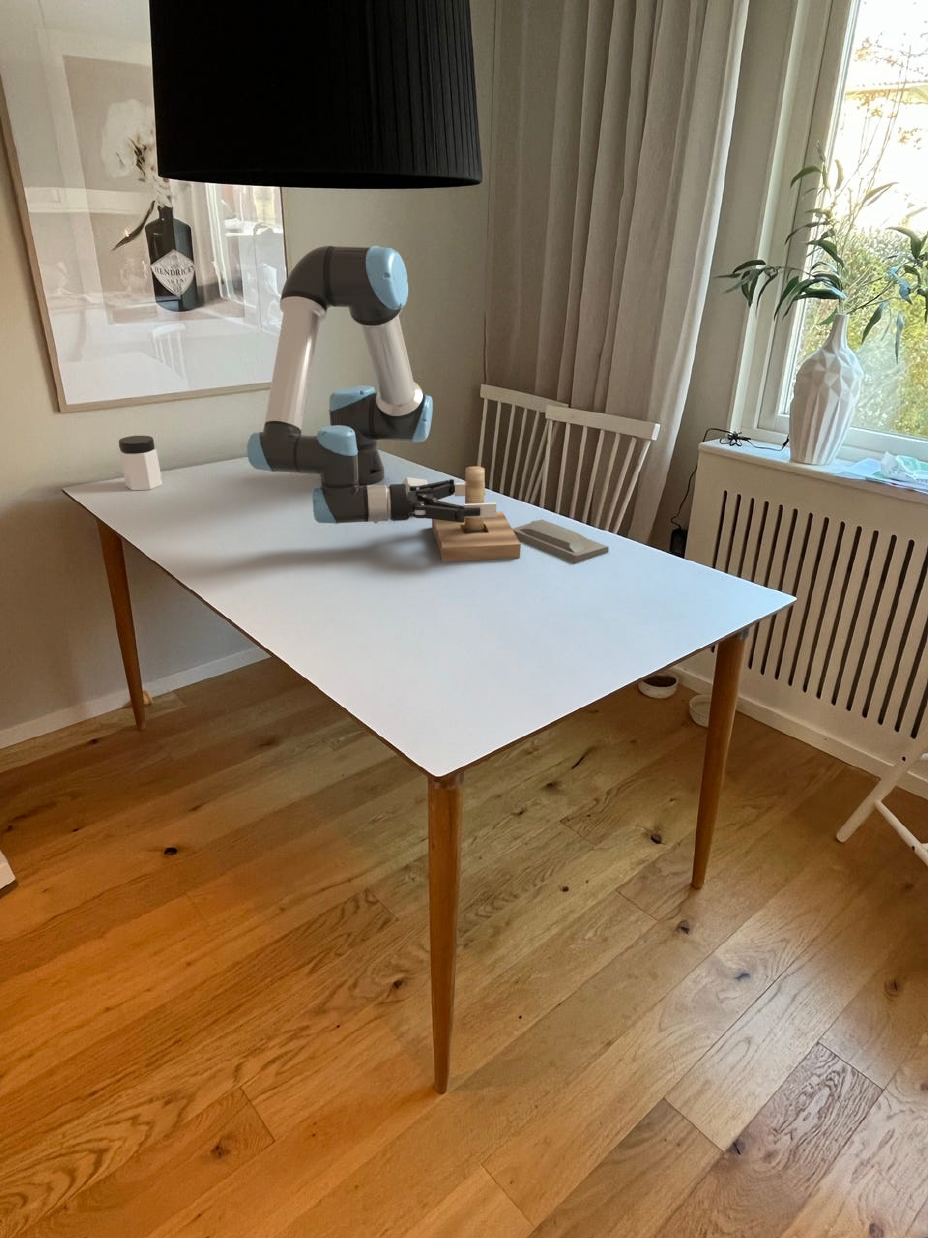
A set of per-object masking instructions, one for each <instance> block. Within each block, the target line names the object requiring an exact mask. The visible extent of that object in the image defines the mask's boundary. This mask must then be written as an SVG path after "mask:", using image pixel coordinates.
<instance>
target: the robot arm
mask: <svg viewBox="0 0 928 1238" xmlns="http://www.w3.org/2000/svg"><path fill="white" fill-rule="evenodd" d="M280 295H281V296H280V301H279V308H280V311H281V312H282V313H283V314H282V319H281V320H282V321H281V325H280V326H281V327H280V331H279V337H278V344H277V350H276V354H275V355H276V356H275V361H274V367H273V372H272V377H271V385H270V389H269V390H270V391H269V395H268V401H267V406H266V413H265V420H264V425H263V429H262V431H259V432H254V433H252V434H251V435H250V437H249V439H248V441H247V445H246V454H247V460H248V462H249V464H250V466H252V467H253V469H256V470H260V471H267V472H272V473H276V472H277V473H294V474H295V473H296V474H297V473H299V474H306V475H307V474H308V475H319V476H320V485H319V486H315V487H313V489H312V492H311V493H312V496H311V497H312V512H313V517H314V520H315V521H316V522H317V523H319V524H335V525H338V524H349V523H353V524H354V523H364V522H365V523H370V522H371V523H372V522H373V523H374V524H378V523H379V522H387V521H388V520H389V519H390V521H392V522H395V521H396V522H397V521H408V520H409V518H410V513H409V512H415V514H414V519H429V520H432V519H436V520H444V521H452V522H460V523H463V522H464V518H471V517H495V516H496V512H497V502H484V503H472V504H465V503H464V504H463V505H460V504H456V503H450V502H447V501H446V502H445V501H442V499H445V498H447V497H451V496H453V495H454V497H456V498H457V497H465V482H459V483H455V480H454V479H451V478H450V479H447V480H442V481H436V482H432V483H428V484H426V485H421V486H411V487H410V492H408V488H407V485H406V484H402V483H394V484H393V483H390V485H389V486H387V484H385V483H384V484H374V483H378V482H379V481H382V480H383V479H384V478H385V467H384V464H383V461H382V458H381V455H380V454H379V450H378V447H377V444H378V443H377V441H388V442H389V441H390V442H401V443H423V442H425V441H426V440H427V439H428V437H429V434H430V430H431V425H432V418H433V412H434V411H433V408H434V407H433V406H434V401H433V397H432V396H431V395H428V394H423V390H422V388H421V386H419V384H418V383H416V382H415V381H414V378H413V373H412V368H411V364H410V361H409V355H408V352H407V347H406V342H405V338H404V333H403V331H402V323H401V320H400V317H399V316H400V314H401V313H402V310H403V308H404V307H405V306H406V303H407V301H408V296H409V283H408V273H407V269H406V265H405V262H404V260H403V258H402V256H401V254H400V253H399V252H398V251H397V250H395V249H394V248H391V247H381V246H380V245H373V246H333V245H323V246H319V247H316V248H315V249H312V250H311V251H309V252H307V253H306V254H305V255H304V256H303V257H301V259H299V260H298V262H297V263H296V264H295V266H294V267H293V268H292V270H291V271H290V272H289V275H288V277H287V279H286V280H285V283H284V285H283V289H282V291H281V294H280ZM330 307H334V308H348V310H349V311H348V312H349V314H350V316H351V319H352V320H353V321H354V322H355V323H356V324H358V325H360V327H361V330H362V331H361V332H362V334H363V337H364V341H365V345H366V348H367V352H368V356H369V359H370V362H371V367H372V370H373V373H374V377H375V380H376V384H377V387H378V391H377V392H376V389H375V387H374V386H373V385H367V384H366V385H365V384H364V385H354V386H348V387H344V388H340V389H337V390H334V391H332V392H331V393H330V395H329V399H328V400H329V401H328V403H329V405H328V407H329V409H328V412H329V413H328V414H329V425H326V426H325V425H324V426H322V427H320V428H318V430H317V434H316V435H317V436H316V435H302V428H303V424H304V418H305V412H306V406H307V400H308V394H309V389H310V388H309V387H310V383H311V376H312V371H313V365H314V358H315V354H316V348H317V347H316V346H317V342H318V341H317V340H318V337H319V329H320V324H321V323H322V322H323V321H325V320H326V317H327V312H328V310H329V308H330ZM485 495H486V483H485V482H484V496H485Z"/></svg>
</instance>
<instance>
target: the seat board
mask: <svg viewBox="0 0 928 1238" xmlns="http://www.w3.org/2000/svg"><path fill="white" fill-rule="evenodd" d="M431 528H432V531H433V535H434V537H435V541H436V544H437V547H438V551H439V553H440V557H441V561H442V562H444V563H445V562H460V561H461V562H463V561H482V560H484V561H485V560H499V559H500V560H502V559H504V560H505V559H520V558H521V547H522V544H521V542H520V540H518V538H517V537H516V535H515V533H514V531H513V530H512V529H513V527H512V526H511V525H510V522H509V521H508V519H507V517H506V516H505V513H504V511H496V516H495V517H484V530H483V533H470V534H465V518H464V522H463V523H460V522H452V521H444V520H436V519H431Z"/></svg>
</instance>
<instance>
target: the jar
mask: <svg viewBox="0 0 928 1238" xmlns="http://www.w3.org/2000/svg"><path fill="white" fill-rule="evenodd" d="M118 446H119V447H118V448H119V451H118V453H119V457H120V458H119V459H120V463H121V468H122V474H123V479H124V483H125V486H126V488H127V489H130V490H131V491H132V492H133V491H150V490H154V489H156V488H158V487H160V486H162V485H163V480H162V474H161V468H160V467H161V466H160V462H159V456H158V451H157V450H158V449H156V447H155V441H154V437H152V436H150V435H131V436H130V435H129V436H125V437H122V438H120V439H119V440H118Z"/></svg>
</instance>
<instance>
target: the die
mask: <svg viewBox="0 0 928 1238" xmlns="http://www.w3.org/2000/svg"><path fill="white" fill-rule="evenodd" d="M401 484H406V485H407V488H408V492H410V487H411V486H421V485H426V484H429V482H428V481H427V479H423V478H416V477H408V476H406V477H405V479H404V480H403V481H402V482H401ZM409 514H414V515H415V512H409Z"/></svg>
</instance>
